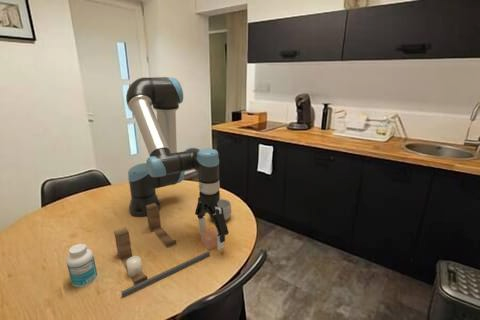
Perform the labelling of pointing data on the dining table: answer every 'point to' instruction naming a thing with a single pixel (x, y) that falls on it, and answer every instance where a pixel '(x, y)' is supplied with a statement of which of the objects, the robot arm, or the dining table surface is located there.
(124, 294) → the bar
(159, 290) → the dining table surface
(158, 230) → the brown l-shaped block
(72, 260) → the pill bottle
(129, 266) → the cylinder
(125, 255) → the brown l-shaped bracket
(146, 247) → the dining table surface
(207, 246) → the cube
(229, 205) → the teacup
